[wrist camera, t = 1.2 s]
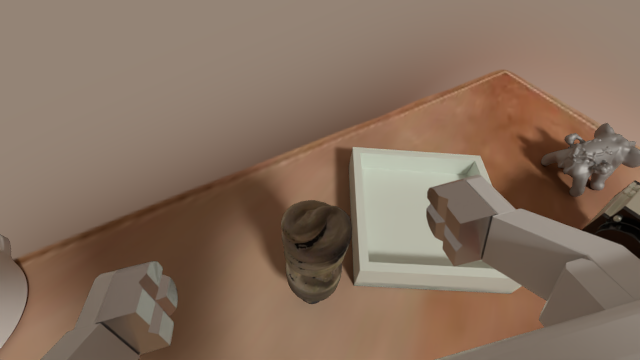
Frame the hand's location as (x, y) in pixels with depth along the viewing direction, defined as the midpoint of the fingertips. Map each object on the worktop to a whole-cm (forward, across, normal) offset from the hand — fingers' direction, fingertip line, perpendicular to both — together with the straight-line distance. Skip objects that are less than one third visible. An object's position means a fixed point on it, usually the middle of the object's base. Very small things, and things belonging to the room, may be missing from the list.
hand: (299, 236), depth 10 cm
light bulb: (+14, +2, +24) cm, 28 cm away
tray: (+21, -14, +26) cm, 36 cm away
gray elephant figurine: (+26, -42, +30) cm, 58 cm away
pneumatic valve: (+14, -33, +31) cm, 47 cm away
